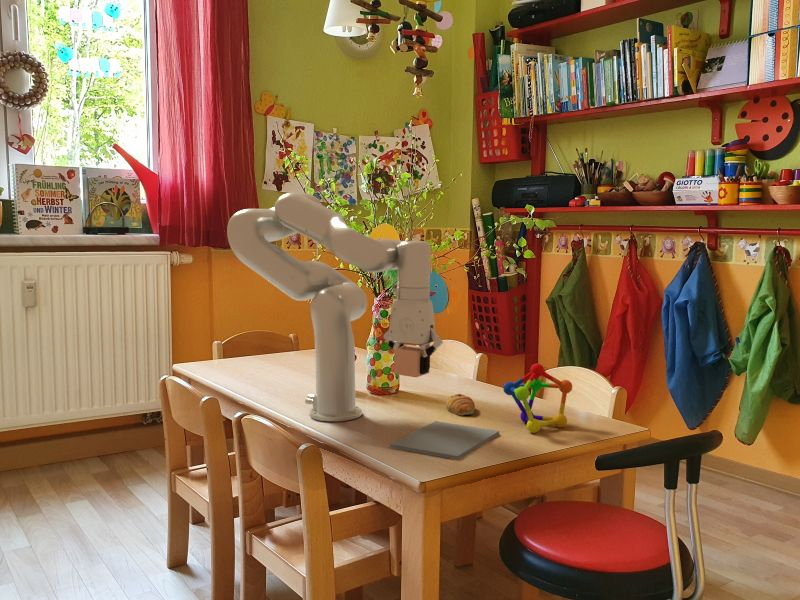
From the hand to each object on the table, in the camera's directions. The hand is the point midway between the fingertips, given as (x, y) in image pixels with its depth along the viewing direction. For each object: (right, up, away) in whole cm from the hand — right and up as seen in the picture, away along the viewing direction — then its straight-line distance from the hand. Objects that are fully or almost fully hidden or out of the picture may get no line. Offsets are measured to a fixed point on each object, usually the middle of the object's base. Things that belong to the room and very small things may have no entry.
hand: (411, 370), depth 171 cm
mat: (+7, -14, -13) cm, 20 cm away
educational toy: (+28, -13, -3) cm, 31 cm away
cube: (0, -1, 0) cm, 1 cm away
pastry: (+13, -12, +12) cm, 21 cm away
